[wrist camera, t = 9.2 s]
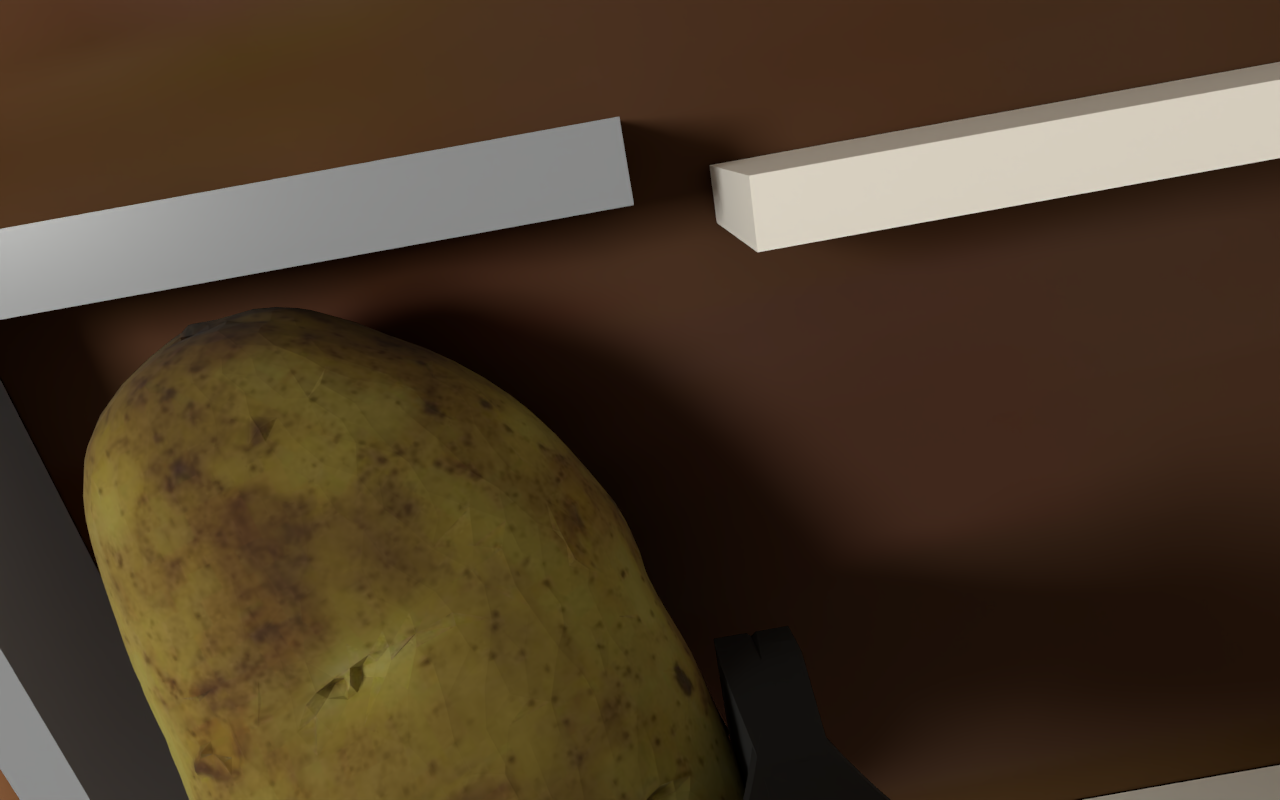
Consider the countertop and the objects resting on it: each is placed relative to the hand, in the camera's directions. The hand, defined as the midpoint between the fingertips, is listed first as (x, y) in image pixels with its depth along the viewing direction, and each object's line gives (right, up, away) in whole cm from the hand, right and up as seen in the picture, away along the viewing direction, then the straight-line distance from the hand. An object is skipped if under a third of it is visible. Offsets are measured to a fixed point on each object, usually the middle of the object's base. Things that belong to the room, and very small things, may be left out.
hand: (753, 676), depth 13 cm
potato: (-5, +2, +2) cm, 6 cm away
